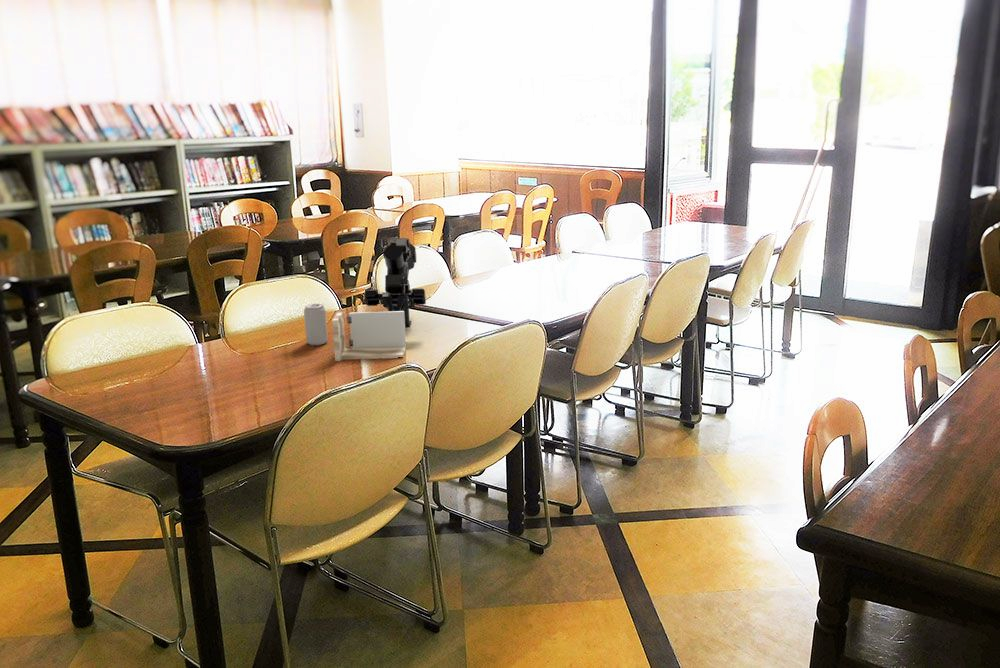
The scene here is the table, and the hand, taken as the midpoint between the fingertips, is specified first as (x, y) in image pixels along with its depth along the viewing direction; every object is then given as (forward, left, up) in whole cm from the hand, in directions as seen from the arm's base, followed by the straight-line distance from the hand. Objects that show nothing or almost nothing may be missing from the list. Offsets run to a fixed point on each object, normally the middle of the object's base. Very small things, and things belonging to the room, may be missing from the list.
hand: (394, 320), depth 247 cm
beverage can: (+1, -24, -7) cm, 25 cm away
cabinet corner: (+16, -6, -6) cm, 18 cm away
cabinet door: (+10, -4, -6) cm, 12 cm away
